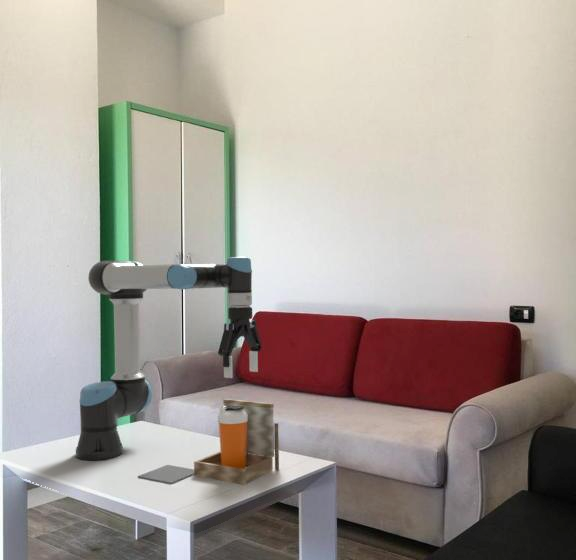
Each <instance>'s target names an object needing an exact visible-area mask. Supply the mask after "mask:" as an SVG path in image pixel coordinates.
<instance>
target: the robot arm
mask: <svg viewBox="0 0 576 560" xmlns="http://www.w3.org/2000/svg"><path fill="white" fill-rule="evenodd" d="M252 272H253V269H252V260H251V258H250V257H248V256H231V257H228V258H227V261H226V263H197V264H196V263H176V264H145V265H144V264H142V263H141V262H139V261H135V260H129V259H128V260H102V261H98V262H96V263H95V264H94V265H92V267H91V268H90V270H89V273H88V278H87V279H88V283H89V286H90V287H91V288H92V289H93V290H94V292H96V293H98V294H101V295H105V296H106V295H107V296H109V299H108V301H110V302H111V303H112V305H113V328H114V370H115V371H114V373H113V375H112V376H111V377H110V381H108V380H107V381H106V380H105V381H104V380H103V381H100V382H93V383H90V384H88V385H85V386H84V387H82V389H81V390H80V394H79V395H80V398H79V409H80V410H79V412H80V414H79V415H80V435H79V438H78V443H77V446H76V448H75V458H76V459H79V460H84V461H85V460H86V461H100V460H101V461H102V460H107V459H113V458H116V457H118V456H120V455H122V454H123V451H124V450H123V449H124V448H123V444H122V441H121V437H120V435H119V432H118V419H120V418H124V417H127V416H131V415H133V416H134V415H137V414H139V413H141V412H144V411H146V409H147V408H148V407H149V406H150V405H151V402H152V399H153V391H152V389H153V388H152V387H151V385H150V383H149V382H148V380H146V375H145V374H144V373H143V372H141V343H140V341H141V339H140V338H141V337H140V303H141V301H143V300H144V293H145V292H146V291H147V290H161V289H162V290H164V289H165V290H168V289H169V290H174V289H175V290H176V289H177V290H189V289H190V290H192V289H193V290H194V289H215V288H216V289H217V288H227V305H228V306H229V307H228V308H227V313H228V314H227V317H228V320H230V323H227V322H226V323H224V325H223V333H222V335H221V336H222V337H221V340H220V343H219V348H218V351H217V354H218V355H219V357H222V365H223V378H226V379H233V378H234V377H233V373H234V372H233V371H234V370H233V356H232V352H233V350H234V348H235V346H236V344H237V342H238V340H239V339H240V338H241V337H243V338H244V340H245V342H246V344H247V345H248V347H249V349H250V350H249V351H248V353H249V354H248V358H249V359H248V361H249V372H254V373H258V372H259V367H258V366H259V365H258V364H259V363H258V362H259V352H261V350H262V348H263V344H262V341H261V338H260V334H259V332H258V328H257V322H256V320H251V319H253V308H252V305H253V295H252V294H253V293H252V292H253V291H252V289H253V288H252V286H253V285H252V277H253V275H252V274H253V273H252Z"/></svg>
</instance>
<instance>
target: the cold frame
mask: <svg viewBox="0 0 576 560" xmlns="http://www.w3.org/2000/svg"><path fill="white" fill-rule="evenodd" d="M222 400H223V401H222V402H223V406H225V405H230V406H244V408H243V411H245V412H246V413H247V415H248V421H247V440H246V468H244V469H240V468H235V467H229V466H223V465H221V450H220V451H218V452H215V453H212V454H210V455H207V456H206V457H203V458H200V459H197V460H196V461H193V469H194V475H193V476H197V477H202V478H208V479H213V480H217V481H224V482H228V483H234V484H239V485H246V484H248V483H250V482H252V481H254V480H256V479H259V478H261V477H262V476H265V475H266V474H268V473H271V472H273V471H272V470H273V469H274V470H275V469H276V470H275V471H278V470H277V469H279V470H280V458H279V457H280V455H279V453H280V451H279V443H280V442H279V441H280V440H279V422H275V419H274V403H272V402H262V401H261V402H260V401H253V400H252V401H251V400H250V401H249V400H243V399H242V400H240V399H230V398H223V399H222ZM273 457H274V460H273ZM273 462H274V463H273ZM273 467H274V468H273ZM270 471H271V472H270Z"/></svg>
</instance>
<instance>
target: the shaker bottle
mask: <svg viewBox="0 0 576 560" xmlns="http://www.w3.org/2000/svg"><path fill="white" fill-rule="evenodd" d="M243 408H244V406H230V405H225V406H224V405H223V406H221V407H219V414H217V422H218V432H219V445H220V447H219V449H220V451H221V465H223V466H229V467H235V468H240V469H244V468H246V440H247V421H248V415H247V413H246V412H245V411H243Z"/></svg>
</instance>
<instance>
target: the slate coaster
mask: <svg viewBox="0 0 576 560" xmlns="http://www.w3.org/2000/svg"><path fill="white" fill-rule="evenodd" d="M192 476H195V475H194V468H188V467H182V466H176V465H171V464H166V465H163V466H161V467H158V468H156V469H152V470H150V471H148V472H145V473H142V474H140V475H137V478H139V479H144V480H149V481H154V482H159V483H164V484H170V485H173V484H175V483H177V482H180V481H183V480H184V479H187V478H190V477H192Z"/></svg>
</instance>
